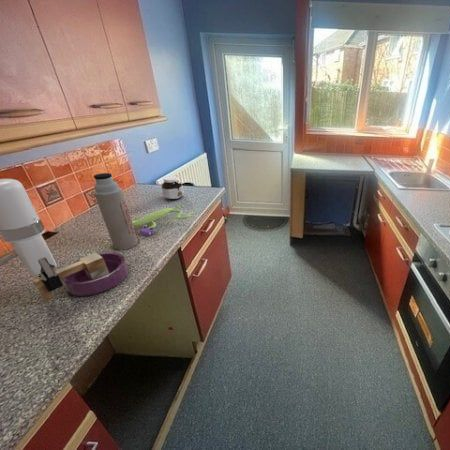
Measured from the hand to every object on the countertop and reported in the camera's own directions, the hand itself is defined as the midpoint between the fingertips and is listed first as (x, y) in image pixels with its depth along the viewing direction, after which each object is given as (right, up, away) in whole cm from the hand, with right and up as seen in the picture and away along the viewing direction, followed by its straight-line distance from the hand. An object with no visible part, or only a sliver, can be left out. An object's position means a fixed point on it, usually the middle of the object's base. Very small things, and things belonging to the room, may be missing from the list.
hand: (54, 286), depth 70 cm
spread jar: (-2, +33, +72) cm, 79 cm away
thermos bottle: (+1, +10, +28) cm, 29 cm away
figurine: (+7, +18, +44) cm, 48 cm away
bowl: (+5, 0, +9) cm, 11 cm away
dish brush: (+2, -1, +5) cm, 6 cm away
